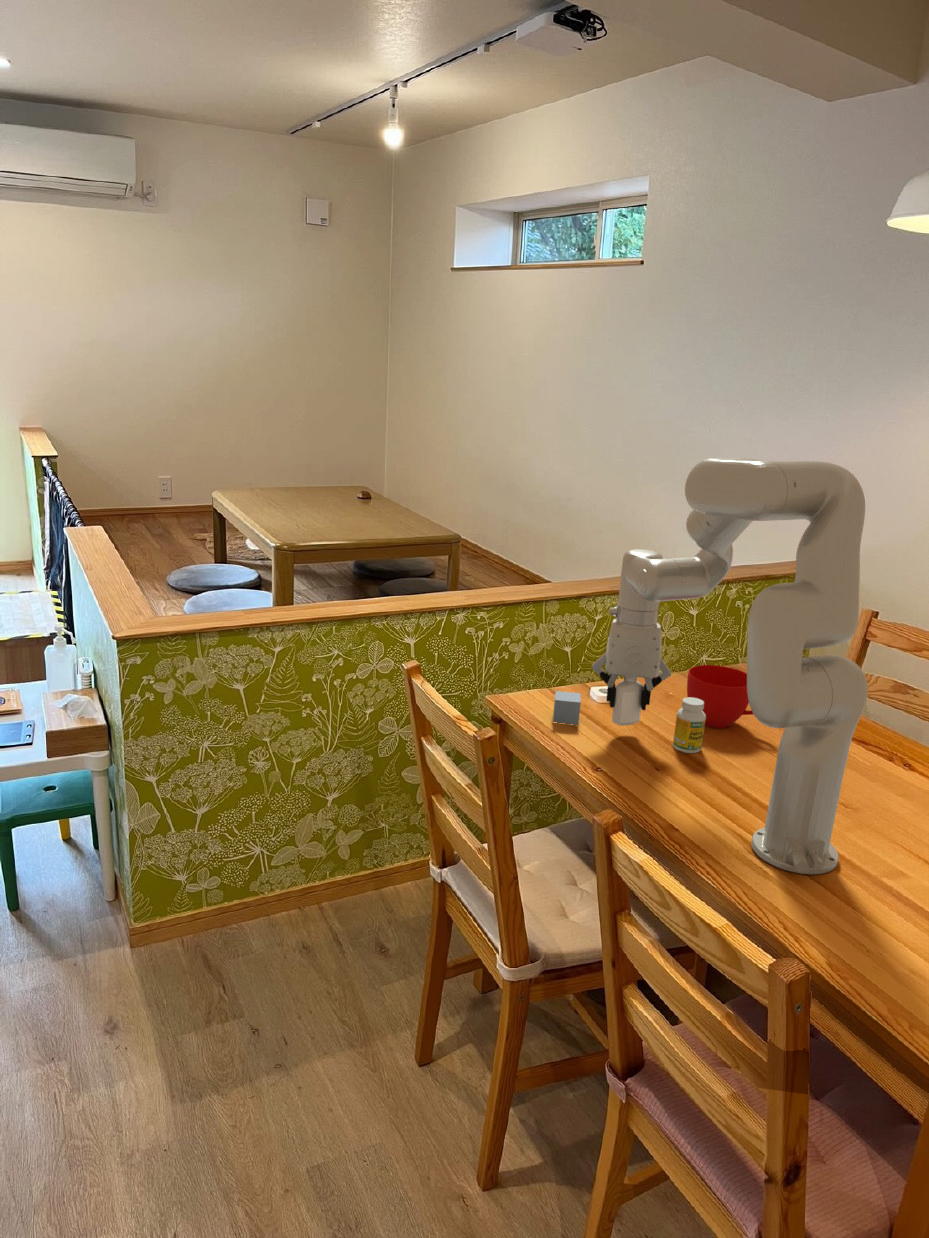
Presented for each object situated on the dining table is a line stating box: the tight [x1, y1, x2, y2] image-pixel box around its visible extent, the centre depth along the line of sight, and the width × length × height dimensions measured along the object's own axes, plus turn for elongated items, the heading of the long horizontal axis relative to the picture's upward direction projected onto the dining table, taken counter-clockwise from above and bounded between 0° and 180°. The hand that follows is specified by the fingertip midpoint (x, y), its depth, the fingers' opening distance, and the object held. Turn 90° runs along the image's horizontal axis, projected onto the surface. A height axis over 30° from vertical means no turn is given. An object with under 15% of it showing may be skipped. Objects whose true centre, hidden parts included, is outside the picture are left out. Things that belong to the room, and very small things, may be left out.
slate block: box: [552, 690, 582, 726], centre depth 189 cm, size 5×5×5 cm
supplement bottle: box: [672, 696, 706, 754], centre depth 179 cm, size 5×5×10 cm
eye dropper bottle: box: [611, 676, 644, 726], centre depth 182 cm, size 4×6×12 cm
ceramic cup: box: [686, 664, 754, 729], centre depth 191 cm, size 13×17×10 cm
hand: (627, 705), depth 183 cm, fingers closed on eye dropper bottle, 5 cm apart
